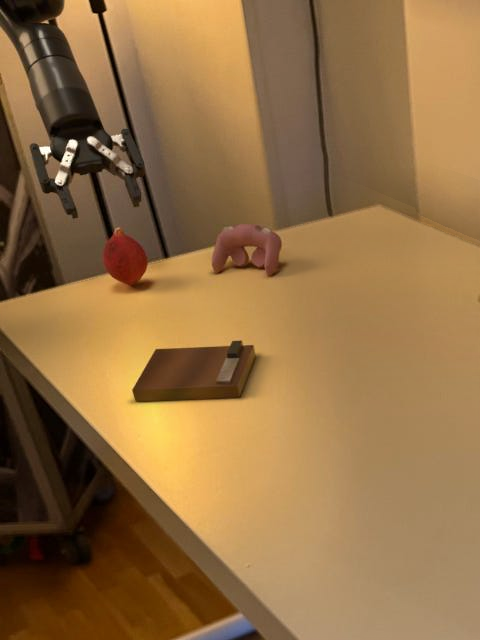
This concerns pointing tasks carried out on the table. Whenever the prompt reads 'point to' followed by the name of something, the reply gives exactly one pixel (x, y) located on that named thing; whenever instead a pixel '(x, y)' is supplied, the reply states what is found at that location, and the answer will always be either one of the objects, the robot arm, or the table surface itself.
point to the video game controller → (241, 237)
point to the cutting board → (195, 373)
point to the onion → (124, 258)
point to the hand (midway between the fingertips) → (106, 209)
